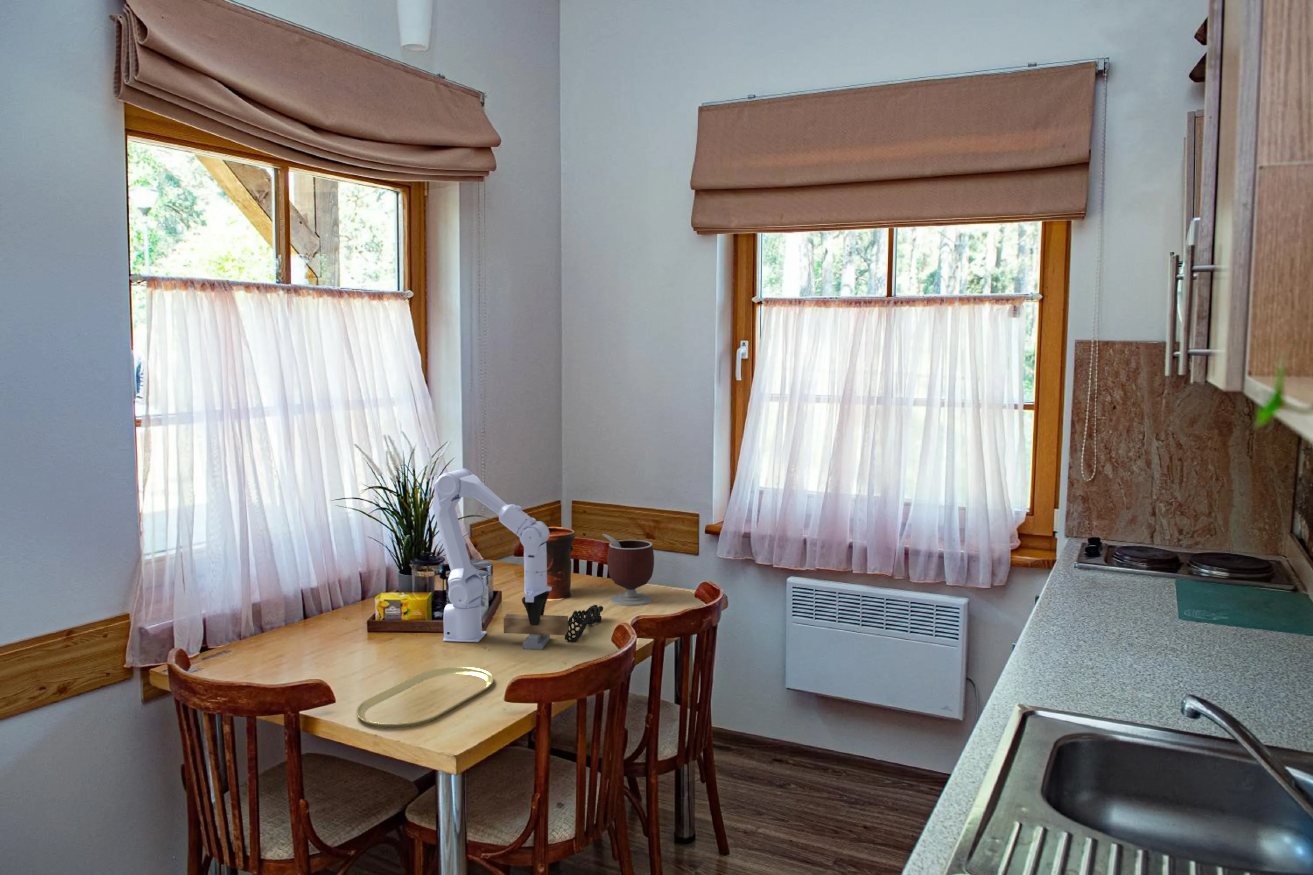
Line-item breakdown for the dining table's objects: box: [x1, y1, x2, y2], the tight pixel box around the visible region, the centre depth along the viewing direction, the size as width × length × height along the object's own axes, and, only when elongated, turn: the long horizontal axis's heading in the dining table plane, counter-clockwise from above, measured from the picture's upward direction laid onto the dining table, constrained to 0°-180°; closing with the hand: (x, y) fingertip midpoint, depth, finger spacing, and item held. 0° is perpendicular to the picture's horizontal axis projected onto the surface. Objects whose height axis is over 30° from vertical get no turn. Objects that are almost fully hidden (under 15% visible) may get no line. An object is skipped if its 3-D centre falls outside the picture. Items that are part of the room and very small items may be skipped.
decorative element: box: [564, 604, 604, 643], centre depth 256 cm, size 22×5×6 cm, turn 166°
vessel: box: [541, 526, 576, 602], centre depth 291 cm, size 14×14×20 cm
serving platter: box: [355, 666, 494, 729], centre depth 208 cm, size 19×35×2 cm, turn 155°
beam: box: [503, 613, 569, 636], centre depth 244 cm, size 16×4×4 cm, turn 84°
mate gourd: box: [602, 533, 655, 607], centre depth 285 cm, size 16×14×20 cm
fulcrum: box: [522, 634, 551, 650], centre depth 245 cm, size 5×9×3 cm, turn 174°
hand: (536, 622), depth 244 cm, fingers closed on beam, 3 cm apart
